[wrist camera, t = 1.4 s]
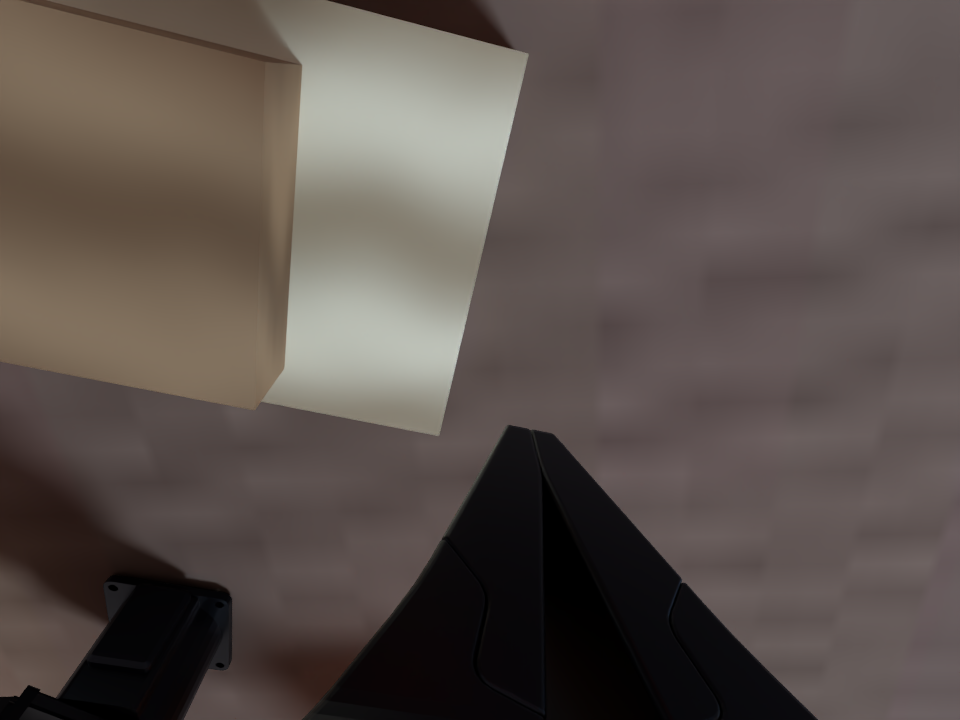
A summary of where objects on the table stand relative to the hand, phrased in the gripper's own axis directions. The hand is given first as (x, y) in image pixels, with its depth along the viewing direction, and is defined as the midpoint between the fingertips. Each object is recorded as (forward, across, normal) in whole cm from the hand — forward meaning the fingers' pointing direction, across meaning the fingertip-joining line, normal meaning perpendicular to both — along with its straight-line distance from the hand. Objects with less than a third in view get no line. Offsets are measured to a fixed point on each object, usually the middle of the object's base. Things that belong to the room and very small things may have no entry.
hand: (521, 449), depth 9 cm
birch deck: (+12, +9, 0) cm, 15 cm away
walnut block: (+8, +10, 0) cm, 13 cm away
